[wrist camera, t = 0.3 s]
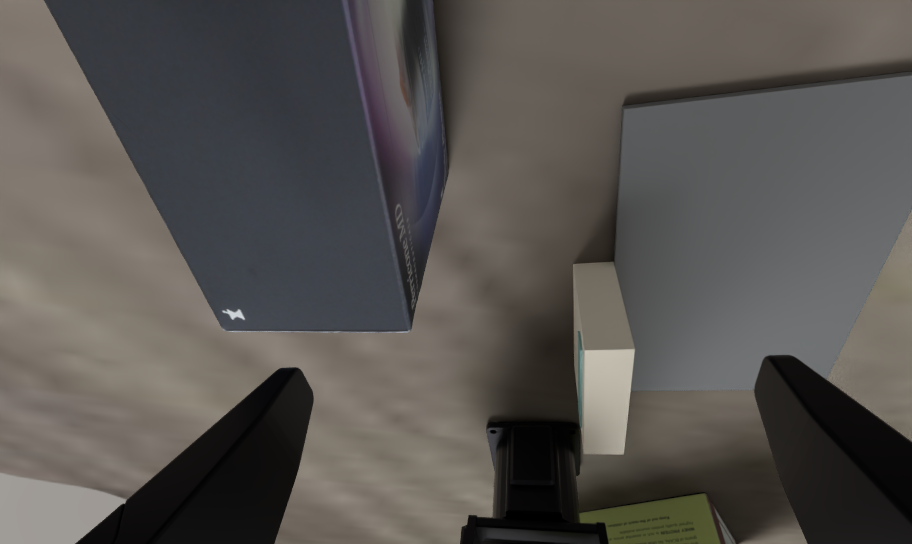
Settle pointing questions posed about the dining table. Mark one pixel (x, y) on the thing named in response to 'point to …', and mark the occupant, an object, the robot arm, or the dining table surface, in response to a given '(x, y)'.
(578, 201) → the dining table surface
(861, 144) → the rubber mat
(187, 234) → the small box
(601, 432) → the cream slab
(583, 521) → the protein box
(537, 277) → the dining table surface
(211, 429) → the robot arm
